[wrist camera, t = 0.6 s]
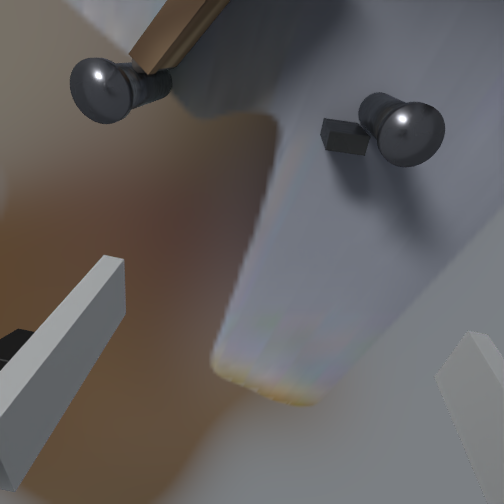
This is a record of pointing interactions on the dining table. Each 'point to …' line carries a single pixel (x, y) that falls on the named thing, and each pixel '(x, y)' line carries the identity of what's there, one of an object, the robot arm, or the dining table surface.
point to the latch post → (389, 130)
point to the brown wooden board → (173, 33)
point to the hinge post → (114, 88)
